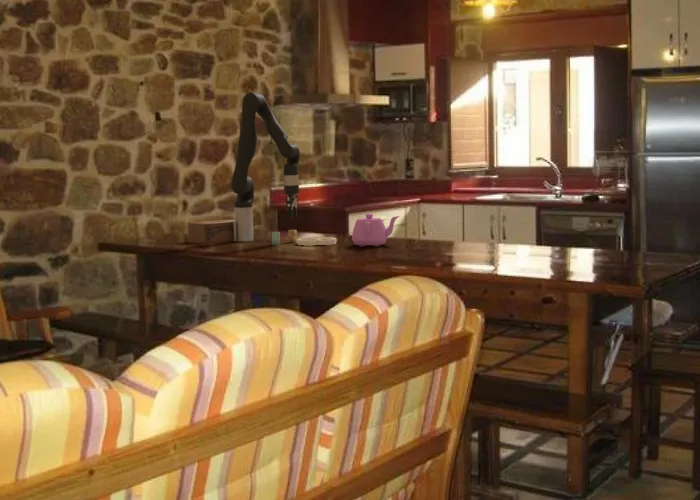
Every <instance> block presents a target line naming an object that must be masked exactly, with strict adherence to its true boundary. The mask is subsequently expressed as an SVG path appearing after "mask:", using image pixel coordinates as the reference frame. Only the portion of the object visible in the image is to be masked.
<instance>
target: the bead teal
mask: <svg viewBox="0 0 700 500" xmlns="http://www.w3.org/2000/svg"><path fill="white" fill-rule="evenodd" d="M271 245H273V246H276V245H277V246H279V245H281V232H280V231H272V232H271Z"/></svg>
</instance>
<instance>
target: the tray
mask: <svg viewBox="0 0 700 500" xmlns="http://www.w3.org/2000/svg"><path fill="white" fill-rule="evenodd" d="M337 241H338V240H337V237H332V236H308V237H299V238H298V237H297V242H296V244H298V245H297V246H301V245H304V246H303V247H305V246H306V247H316V246H315V245H326V246H333V245H336V244H337ZM313 245H314V246H313Z"/></svg>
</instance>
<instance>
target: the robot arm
mask: <svg viewBox="0 0 700 500" xmlns="http://www.w3.org/2000/svg"><path fill="white" fill-rule="evenodd" d="M241 104H242V105H241V121H240V122H241V123H240V129H239V130H240V131H239V136H238V143H237V150H236V151H237V152H236V159H235V166H234V168H233V169H234V170H233V175H232V179H231V182H230V183H231V185H230V186H231V191H232V192H233V193H234V194H236V195H237V196H236V197H237V198H236V199H235V201H234V202H233V204H234V205H233V206H234V208H233V210H234V220H235V222H234V241H233V242H252V241H254V211H253V203H254V199H255V194H254V193H255V186H254V180H253V179H252V177H250V175H249V176H248V173H249V168H250V165H251V163H252V161H253V159H254V156H255V154H256V150H257V144H258V133H257V129H256V116H257V115H258V116H260V118H261V120H263V123H264V126H265V129H266V131H267V133H268V135H269V136H270V137H271V139H272V140H273V142H274V143H275V145H276V147H277V149H278V152H279V154H280V155H281V156H282V157H283V158H284V159H286V163H285V164H284V165H283V193H284V195H287V196H286V197H285V209H286V210H287V217H288V218H289V219H291V218H293V217H297V216H298V214H297V213H298V212H297V209H298V207H299V202H298V197H299V196H298V194H300V180H299V169H298V168H299V161H300V153H301V152H300V148H299V146H298V145H297V144H295V143H289V141H288V138H289V136H288V134H287V133H286V132H285V130H284V129H283V127H282V126H281V125H280V123H279V122H278V120H277V119H276V116H274V114H273V112H272V110H271V108H270V106H269V104H268V102H267V99H266V98H265V96H264V95H262V94H261V93H258V92H246V94H245V95H244V96H243V97H242V102H241ZM256 114H257V115H256Z"/></svg>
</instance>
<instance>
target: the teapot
mask: <svg viewBox="0 0 700 500" xmlns="http://www.w3.org/2000/svg"><path fill="white" fill-rule="evenodd" d="M399 217H400V215H399V216H393V217H391V219H390V220H389V221H390V222H389V225H388V227H387V228H386V226H385V223H384V221H383V219H382V218H381V217H374V214H373V213H365V217H360V218H357V219H356V221H355V223H354V226H353V229H352V236H351V239H352V242H353V244H354V245H355V246H358V247H366V246H373V247H380V246H381V245H385V244H386V242H387V240H388V237H389V236H391V235H392V234H393V230H394V225H395V221H396V220H397V219H398V218H399Z"/></svg>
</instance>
